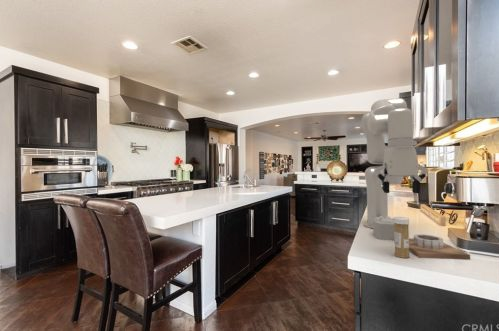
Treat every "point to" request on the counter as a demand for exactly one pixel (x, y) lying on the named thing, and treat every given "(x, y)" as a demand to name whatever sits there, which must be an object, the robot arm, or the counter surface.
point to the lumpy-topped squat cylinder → (383, 228)
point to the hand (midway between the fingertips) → (401, 192)
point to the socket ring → (428, 241)
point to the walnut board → (437, 252)
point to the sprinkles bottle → (401, 237)
